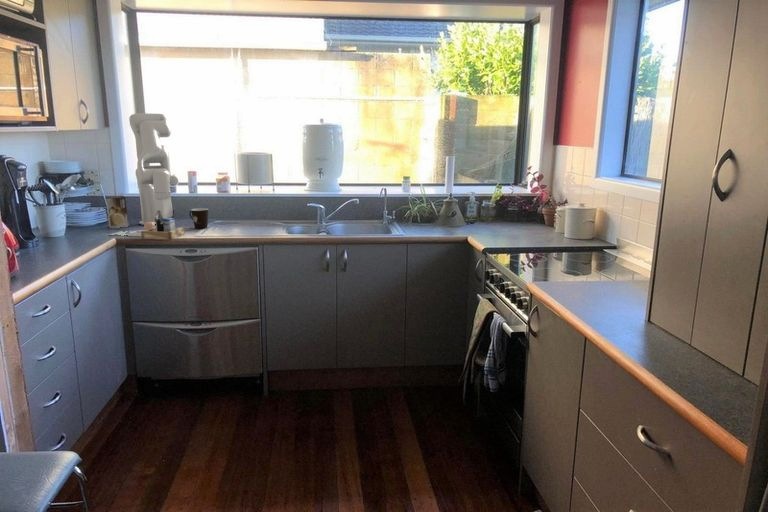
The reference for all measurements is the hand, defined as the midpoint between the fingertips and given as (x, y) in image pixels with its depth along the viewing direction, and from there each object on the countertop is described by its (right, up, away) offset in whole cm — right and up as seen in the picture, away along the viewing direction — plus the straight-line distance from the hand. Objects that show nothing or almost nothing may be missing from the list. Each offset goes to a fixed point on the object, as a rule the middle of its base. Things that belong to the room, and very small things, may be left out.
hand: (165, 230), depth 277 cm
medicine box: (0, -3, +1) cm, 3 cm away
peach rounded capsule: (-11, -1, +9) cm, 15 cm away
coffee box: (-34, +2, +23) cm, 41 cm away
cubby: (0, -3, -2) cm, 4 cm away
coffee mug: (+10, +2, +21) cm, 23 cm away
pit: (-13, -3, 0) cm, 13 cm away
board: (-23, -2, +4) cm, 23 cm away
